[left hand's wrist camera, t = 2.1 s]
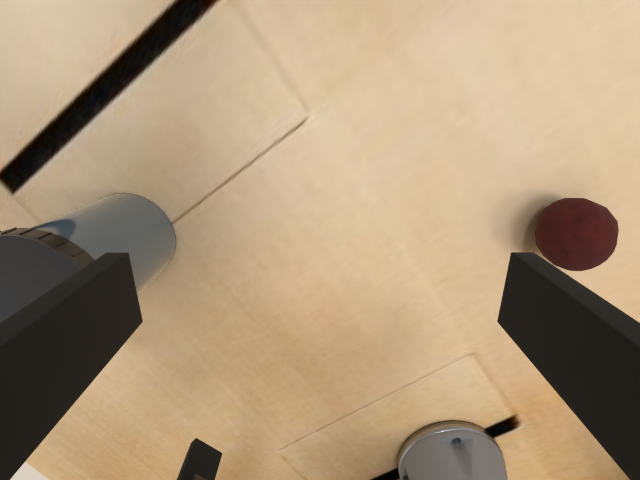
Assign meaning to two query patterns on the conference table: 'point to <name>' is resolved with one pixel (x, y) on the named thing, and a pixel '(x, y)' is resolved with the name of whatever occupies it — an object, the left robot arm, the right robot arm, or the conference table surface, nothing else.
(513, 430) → the conference table surface
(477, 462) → the right robot arm
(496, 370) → the conference table surface
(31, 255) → the lid
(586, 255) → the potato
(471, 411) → the conference table surface
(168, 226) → the jar
